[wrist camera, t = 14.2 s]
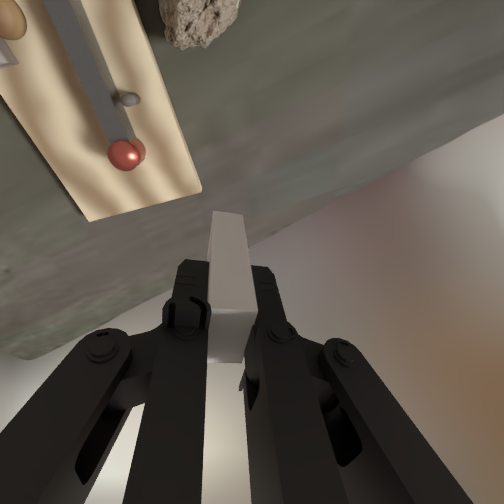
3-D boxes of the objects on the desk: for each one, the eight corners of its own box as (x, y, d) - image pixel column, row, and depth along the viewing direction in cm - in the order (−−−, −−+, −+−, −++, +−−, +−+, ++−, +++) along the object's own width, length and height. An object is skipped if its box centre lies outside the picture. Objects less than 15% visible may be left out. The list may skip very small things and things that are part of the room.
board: (97, -101, 25) (60, -154, 19) (202, 187, 42) (199, 205, 36) (-80, -43, 25) (-167, -77, 20) (94, 216, 43) (74, 237, 37)
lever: (82, -10, 26) (62, -24, 23) (149, 159, 36) (142, 168, 33) (49, -3, 26) (23, -15, 23) (125, 164, 36) (115, 173, 33)
